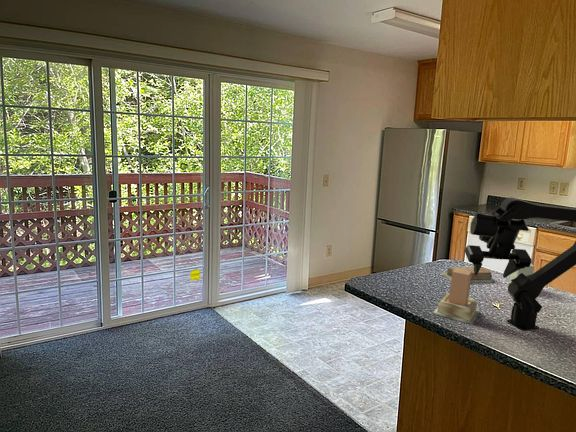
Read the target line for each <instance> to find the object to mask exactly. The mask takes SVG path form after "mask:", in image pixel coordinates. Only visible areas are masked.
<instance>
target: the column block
mask: <svg viewBox="0 0 576 432" xmlns="http://www.w3.org/2000/svg"><path fill="white" fill-rule="evenodd" d="M471 277H472V271H469V270H464V269H459V268H455V269H454V270H453V271H452V279H451V281H450V287H449V288H450V289H449V293H448V294H449V303H453V304H457V305H461V306H465V307H466V305H467V304H468V299H469V298H470V289H471V284H472V283H471Z"/></svg>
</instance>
